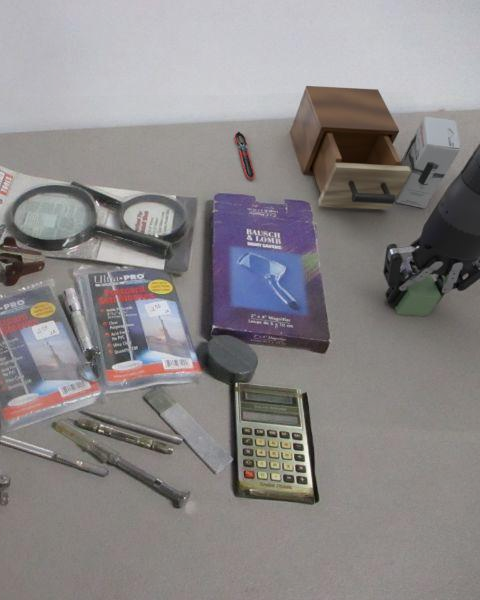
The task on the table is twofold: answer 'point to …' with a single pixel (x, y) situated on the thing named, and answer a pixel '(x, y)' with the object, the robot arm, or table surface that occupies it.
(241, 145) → the red black pliers
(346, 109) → the cabinet
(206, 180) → the table surface
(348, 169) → the drawer
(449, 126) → the ink box
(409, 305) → the block
